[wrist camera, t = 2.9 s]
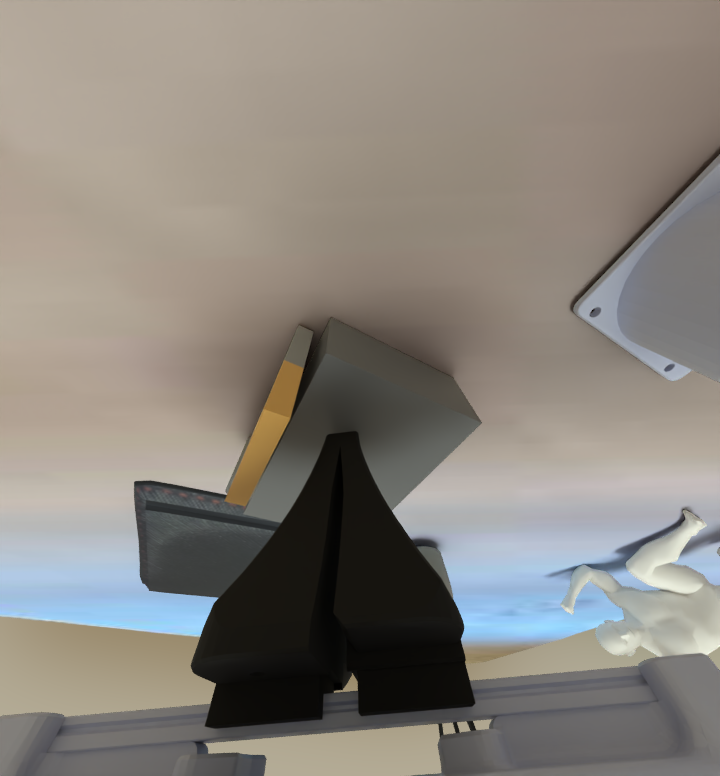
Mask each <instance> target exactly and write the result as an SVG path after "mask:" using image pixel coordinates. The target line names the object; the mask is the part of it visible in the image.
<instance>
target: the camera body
mask: <svg viewBox="0 0 720 776" xmlns="http://www.w3.org/2000/svg"><path fill="white" fill-rule="evenodd" d="M481 423H482V422H481V421H480V419H479V417H478V416H477V414H476V413H475V411H474V410H473V408H472V406H471V405H470V403H469V402H468V400H467V399H466V397H465V395H464V394H463V392H462V391H461V389H460V388H459V386H458V384H457V383H456V381H455V380H454V378H453V377H451V376H449V375H447V374H444V373H442V372H440V371H438V370H436V369H434V368H432V367H430V366H428V365H426V364H424V363H422V362H420V361H418V360H416V359H414V358H412V357H410V356H408V355H406V354H404V353H402V352H400V351H398V350H396V349H394V348H392V347H390V346H388V345H386V344H384V343H382V342H380V341H378V340H376V339H374V338H372V337H370V336H368V335H366V334H364V333H362V332H360V331H358V330H356V329H354V328H352V327H350V326H348V325H346V324H344V323H342V322H340V321H337V320H335V319H333V318H330V320H329V323H328V325H327V327H326V329H325V331H324V333H323V335H322V337H321V339H320V341H319V343H318V345H317V347H316V349H315V351H314V353H313V355H312V358H311V360H310V362H309V364H308V366H307V368H306V370H305V372H304V374H303V376H302V378H301V380H300V384H299V388H298V392H297V395H296V399H295V403H294V407H293V410H292V414H291V418H290V420H289V422H288V424H287V426H286V428H285V430H284V432H283V434H282V436H281V438H280V440H279V442H278V444H277V446H276V448H275V450H274V451H273V453H272V455H271V457H270V459H269V461H268V463H267V465H266V467H265V469H264V471H263V473H262V475H261V477H260V479H259V481H258V483H257V485H256V487H255V489H254V491H253V493H252V495H251V497H250V499H249V501H248V503H247V505H246V507H245V510H244V513H243V514H244V515H249V516H253V517H258V518H262V519H267V520H271V521H275V522H280V523H281V522H282V521H283V520H284V518H285V517H286V515H287V514H288V512H289V511H290V509H291V507H292V506H293V504H294V503H295V501H296V499H297V498H298V496H299V494H300V492H301V491H302V489H303V487H304V485H305V483H306V481H307V480H308V478H309V476H310V474H311V472H312V470H313V468H314V465H315V463H316V461H317V459H318V457H319V454H320V452H321V450H322V447H323V444H324V442H325V439H326V436H327V435H328V434H333V433H342V432H350V431H356V432H358V434H359V440H360V446H361V449H362V452H363V455H364V458H365V460H366V463H367V465H368V468H369V470H370V472H371V474H372V476H373V478H374V480H375V482H376V484H377V486H378V488H379V490H380V492H381V494H382V496H383V497H384V499H385V501H386V502H387V504H388V506H389V507H390V509H391V511H392V510H393V509H394V508H395V507H396V506H397V505H398V504H399V503H400V502H401V501H402V500H403V499H404V498H405V497H406V496H407V495H408V494H409V493H410V492H411V491H412V490H413V489H414V488H415V487H417V486H418V485H419V484H420V483H421V482H422V481H423V480H424V479H425V478H426V477H427V476H428V475H429V474H430V473H431V472H432V471H433V470H434V469H435V468H436V467H437V466H438V465H439V464H440V463H441V462H442V461H443V460H444V459H445V458H446V457H447V456H448V455H449V454H450V453H451V452H453V451H454V450H455V449H456V448H457V447H458V446H459V445H460V444H461V443H462V442H463V441H464V440H465V439H466V438H467V437H468V436H469V435H470V434H471V433H472V432H473V431H474V430H475V429H476V428H477V427H478V426H479V425H480V424H481Z"/></svg>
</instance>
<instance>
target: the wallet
mask: <svg viewBox="0 0 720 776" xmlns="http://www.w3.org/2000/svg"><path fill="white" fill-rule="evenodd" d="M226 496H227V495H224V494H219V493H213V492H208V491H203V490H198V489H193V488H188V487H183V486H178V485H173V484H167V483H161V482H155V481H135V482H134V500H135V511H136V520H137V529H138V538H139V555H140V578H141V580H142V583H143V584H145V585H146V586H147V587H148V589H149V591H156V592H164V593H175V594H186V595H197V596H207V597H218V598H219V597H220V596H221V595H222V594H223V593H224V592H225V591H226V590H227V589H228V588H229V586H230V585H231V584H232V583H233V582H234V581H235V580H236V579H237V578H238V577H239V575H240V574H241V573H242V572H243V571H244V570H245V569H246V568H247V566H248V565H249V564H250V563H251V561H252V560H253V559H254V558H255V557H256V555H257V554H258V553H259V552H260V550H261V549H262V548H263V547H264V545H265V544H266V543H267V542H268V540H269V539H270V538H271V536H272V535H273V534H274V532H275V531H276V529H277V528H278V527H279V525H280V524H281V523H280V522H275V521H271V520H267V519H262V518H258V517H253V516H249V515H244V514H243V513H244V510H245V507H246V506H242V505H238V504H234V503H229V502H225V499H226Z"/></svg>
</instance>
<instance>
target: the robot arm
mask: <svg viewBox="0 0 720 776" xmlns="http://www.w3.org/2000/svg"><path fill="white" fill-rule="evenodd" d="M594 308H595V310H594V311H593V312H592V313H591V314H590V312H591V311H592V310H593V309H594ZM573 310H574V313H575V314H576V315H577V316H578V317H580V318H581V319H583V320H584V321H585V322H587V323H588V324H590V325H591V326H592V327H594V328H595V329H597V330H598V331H599V332H601V333H602V334H604V335H605V336H606V337H608V338H609V339H611V340H612V341H613V342H615V343H616V344H617V345H619V346H620V347H622V348H623V349H624V350H626V351H627V352H629V353H630V354H631V355H633V356H634V357H636V358H637V359H638V360H640V361H641V362H643V363H644V364H645V365H647V366H648V367H650V368H651V369H652V370H654V371H655V372H657V373H658V374H659V375H661V376H662V377H664V378H665V379H667V380H669V381H676V380H679V379H680V378H682V377H684V376H685V375H686V374H688V373H689V372H691V371H692V370H693V371H695V372H698V373H700V374H702V375H704V376H706V377H708V378H710V379H713V380H715V381H717V382H719V383H720V155H719V156H718V157H717V158H716V159H715V160H714V161H713V162H712V163H711V164H710V165H709V166H708V167H707V168H706V169H705V170H704V171H703V172H702V173H701V174H700V175H699V176H698V177H697V178H696V179H695V180H694V181H693V182H692V183H691V184H690V186H689V187H688V188H687V189H686V190H685V191H684V192H683V193H682V194H681V195H680V196H679V197H678V198H677V199H676V200H675V201H674V202H673V203H672V204H671V205H670V206H669V207H668V208H667V209H666V210H665V211H664V212H663V213H662V214H661V215H660V217H659V218H658V219H657V220H656V221H655V222H654V223H653V224H652V225H651V226H650V227H649V228H648V229H647V230H646V231H645V232H644V233H643V234H642V235H641V236H640V237H639V238H638V239H637V240H636V241H635V242H634V243H633V244H632V245H631V246H630V247H629V249H628V250H627V251H626V252H625V253H624V254H623V255H622V256H621V257H620V258H619V259H618V260H617V261H616V262H615V263H614V264H613V265H612V266H611V267H610V268H609V269H608V270H607V271H606V272H605V273H604V274H603V275H602V276H601V277H600V278H599V279H598V281H597V282H596V283H595V284H594V285H593V286H592V287H591V288H590V289H589V290H588V291H587V292H586V293H585V294H584V295H583V296H582V297H581V298H580V299H579V300H578V301H577V303H576V304H575V306H574V308H573ZM463 631H464V623H463V620H462V618H461V615H460V613H459V610H458V608H457V606H456V604H455V602H454V600H453V598H452V596H451V594H450V593H449V591H448V589H447V587H446V586H445V584H444V582H443V580H442V578H441V577H440V576H439V574H438V573H437V572H436V571H435V570H434V568H433V567H432V566H431V565H430V563H429V562H428V561H427V560H426V558H425V557H424V556H423V555H422V553H421V552H420V551H419V549H418V548H417V547H416V545H415V544H414V543H413V541H412V540H411V539H410V537H409V536H408V534H407V533H406V532H405V530H404V529H403V527H402V526H401V524H400V523H399V521H398V520H397V519H396V517H395V515H394V514H393V512H392V511H391V509H390V507H389V506H388V504H387V502H386V501H385V499H384V497H383V496H382V494H381V492H380V490H379V488H378V486H377V484H376V482H375V480H374V478H373V476H372V474H371V472H370V470H369V468H368V465H367V463H366V460H365V458H364V455H363V452H362V449H361V446H360V440H359V434H358V432H356V431H350V432H342V433H333V434H328V435H327V436H326V439H325V442H324V444H323V447H322V450H321V452H320V454H319V457H318V459H317V461H316V463H315V465H314V468H313V470H312V472H311V474H310V476H309V478H308V480H307V481H306V483H305V485H304V487H303V489H302V491H301V492H300V494H299V496H298V498H297V499H296V501H295V503H294V504H293V506H292V507H291V509H290V511H289V512H288V514H287V515H286V517H285V518H284V520H283V521H282V522H281V524H280V525H279V527H278V528H277V529H276V531H275V532H274V534H273V535H272V536H271V538H270V539H269V540H268V542H267V543H266V544H265V545H264V547H263V548H262V549H261V550H260V552H259V553H258V554H257V555H256V557H255V558H254V559H253V560H252V561H251V563H250V564H249V565H248V566H247V568H246V569H245V570H244V571H243V572H242V573H241V574H240V575H239V577H238V578H237V579H236V580H235V581H234V582H233V583H232V584H231V585H230V586H229V588H228V589H227V590H226V591H225V592H224V593H223V594H222V595H221V596H220V597H219V598H218V599H217V601H216V602H215V603H214V605H213V607H212V609H211V612H210V614H209V616H208V618H207V621H206V623H205V625H204V628H203V631H202V634H201V637H200V640H199V643H198V646H197V648H196V651H195V654H194V657H193V660H192V663H191V668H192V671H193V673H195V674H196V675H198V676H200V677H202V678H205V679H207V680H209V681H211V682H214V683H216V687H215V690H214V694H213V698H212V701H211V704H204V705H192V706H183V707H182V706H181V707H170V708H160V709H148V710H136V711H125V712H114V713H103V714H91V715H80V716H70V717H64V715H62V714H57V713H44V712H41V713H25V714H14V715H3V716H0V776H264V772H265V765H266V758H265V756H264V755H247V754H240V753H217V754H208V748H207V746H206V744H203V743H214V742H226V741H238V740H250V739H262V738H273V737H285V736H297V735H309V734H321V733H333V732H345V731H356V730H368V729H380V728H392V727H404V726H415V725H428V724H440V723H450V722H451V723H452V722H463V721H475V720H487V719H493V720H492V721H491V723H490V725H489V729H487V730H476V731H468V732H461V733H454V734H447V735H441V737H440V739H439V742H438V750H439V755H440V761H441V771H442V773H440V774H426V775H413V776H720V670H719V669H718V668H717V667H716V665H715V664H714V663H713V662H712V660H711V659H710V658H709V657H708V656H707V655H705V654H703V653H695V654H683V655H672V656H662V657H655V658H651V659H647V660H644V661H642V662H641V663H639V665H638V666H633V667H632V666H631V667H620V668H609V669H598V670H587V671H575V672H564V673H553V674H542V675H530V676H520V677H508V678H497V679H486V680H475V681H470V680H469V676H468V673H467V669H466V665H465V661H466V659H465V654H464V650H463V647H462V643H461V637H462V634H463ZM352 673H353V675H354V676H355V678H356V679H357V681H358V691H350V692H340V693H334V691H336V690H343V688H344V687H345V686H346V684H347V683H348V681H349V679H350V677H351V676H352Z"/></svg>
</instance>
